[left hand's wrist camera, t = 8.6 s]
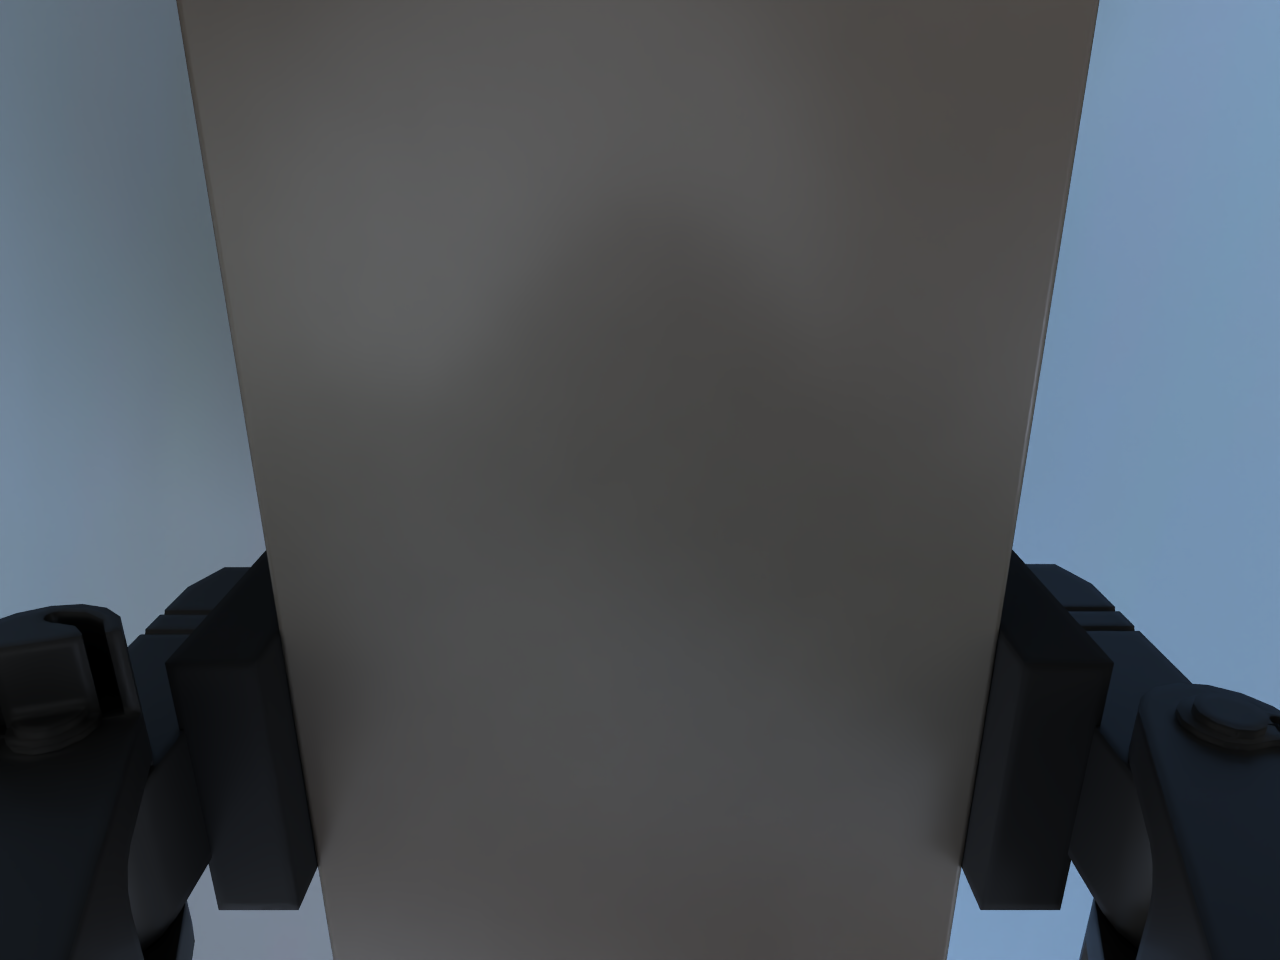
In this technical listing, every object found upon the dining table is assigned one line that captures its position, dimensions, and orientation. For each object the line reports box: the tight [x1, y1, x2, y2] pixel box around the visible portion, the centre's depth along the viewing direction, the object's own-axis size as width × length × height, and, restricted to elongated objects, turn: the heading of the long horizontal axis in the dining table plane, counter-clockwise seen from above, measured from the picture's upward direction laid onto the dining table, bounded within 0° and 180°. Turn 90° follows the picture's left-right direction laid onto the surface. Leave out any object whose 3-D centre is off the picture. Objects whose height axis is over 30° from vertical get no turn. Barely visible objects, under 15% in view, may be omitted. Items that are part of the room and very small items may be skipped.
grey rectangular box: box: [176, 0, 1099, 960], centre depth 11 cm, size 21×6×12 cm, turn 0°
